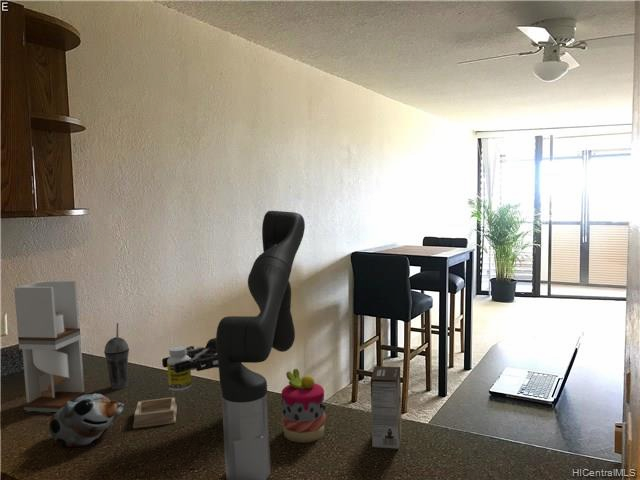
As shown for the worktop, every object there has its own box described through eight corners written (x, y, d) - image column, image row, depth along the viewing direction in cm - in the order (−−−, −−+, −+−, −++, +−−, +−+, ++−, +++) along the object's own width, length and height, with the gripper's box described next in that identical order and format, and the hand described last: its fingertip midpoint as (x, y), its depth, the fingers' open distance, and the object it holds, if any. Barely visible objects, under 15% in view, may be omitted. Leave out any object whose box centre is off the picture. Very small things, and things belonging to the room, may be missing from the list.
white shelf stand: (24, 411, 143) (14, 287, 140) (50, 396, 153) (41, 281, 150) (60, 412, 141) (51, 287, 138) (84, 397, 151) (76, 280, 148)
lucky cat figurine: (108, 419, 136) (125, 377, 132) (113, 454, 126) (131, 410, 122) (46, 417, 128) (62, 373, 124) (46, 455, 118) (63, 408, 114)
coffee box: (375, 429, 125) (373, 365, 124) (401, 431, 124) (400, 366, 122) (371, 447, 116) (369, 378, 115) (400, 449, 115) (398, 379, 113)
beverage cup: (101, 390, 157) (96, 326, 156) (117, 381, 164) (112, 320, 162) (121, 392, 155) (116, 327, 153) (136, 383, 162) (132, 321, 160)
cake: (330, 425, 128) (328, 366, 127) (319, 445, 118) (317, 382, 117) (290, 421, 131) (288, 364, 130) (276, 440, 121) (273, 379, 120)
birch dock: (175, 422, 132) (174, 411, 132) (133, 428, 130) (132, 416, 130) (177, 406, 143) (176, 395, 143) (137, 410, 141) (137, 400, 140)
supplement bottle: (168, 392, 122) (165, 352, 121) (169, 384, 127) (166, 346, 126) (191, 389, 124) (189, 350, 123) (191, 382, 129) (188, 343, 128)
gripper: (212, 330, 140) (154, 345, 128) (243, 340, 129) (182, 356, 118) (214, 357, 140) (156, 374, 129) (244, 369, 130) (184, 388, 118)
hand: (169, 365), depth 123 cm, fingers closed on supplement bottle, 5 cm apart
